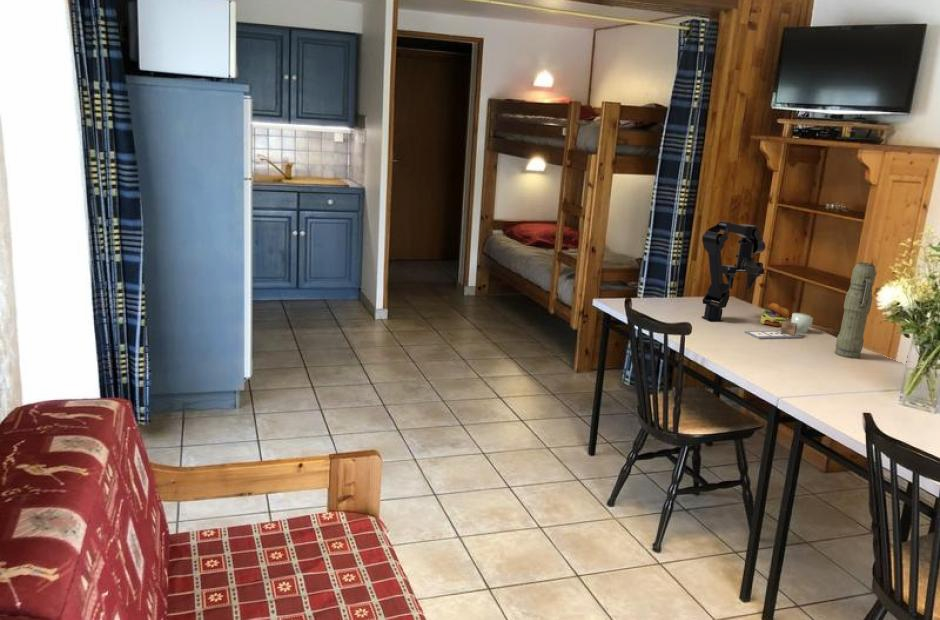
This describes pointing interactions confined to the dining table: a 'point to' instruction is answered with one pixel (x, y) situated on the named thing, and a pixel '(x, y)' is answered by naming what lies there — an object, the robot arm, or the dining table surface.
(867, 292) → the thermos
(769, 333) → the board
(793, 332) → the brown wooden block
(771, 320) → the cheeseburger
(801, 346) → the dining table surface
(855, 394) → the dining table surface
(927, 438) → the dining table surface
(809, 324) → the mug
